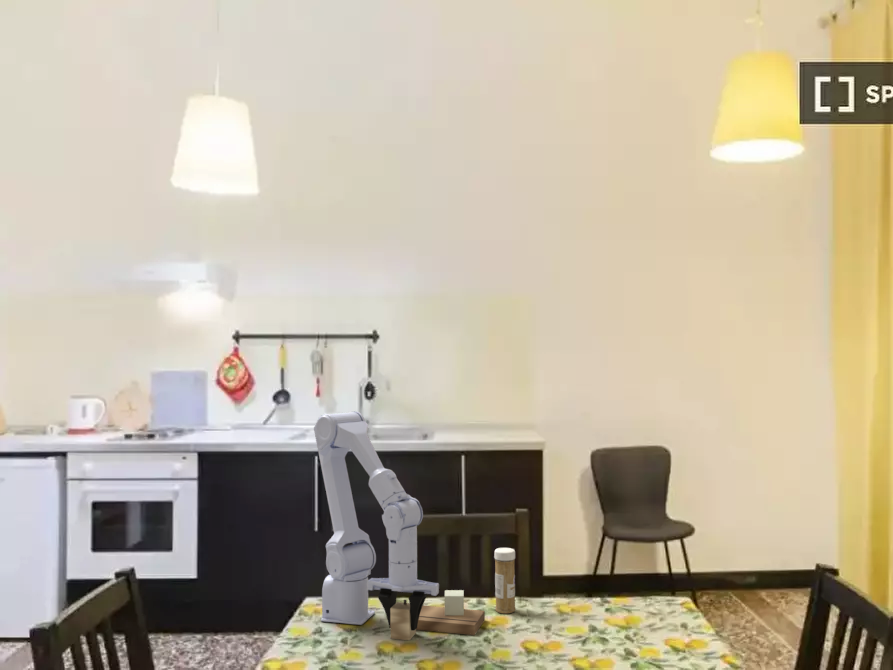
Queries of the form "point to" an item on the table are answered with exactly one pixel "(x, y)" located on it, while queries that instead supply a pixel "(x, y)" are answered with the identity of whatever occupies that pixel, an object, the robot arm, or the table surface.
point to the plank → (450, 620)
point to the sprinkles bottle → (504, 580)
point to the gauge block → (401, 621)
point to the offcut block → (454, 602)
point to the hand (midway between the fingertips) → (403, 627)
